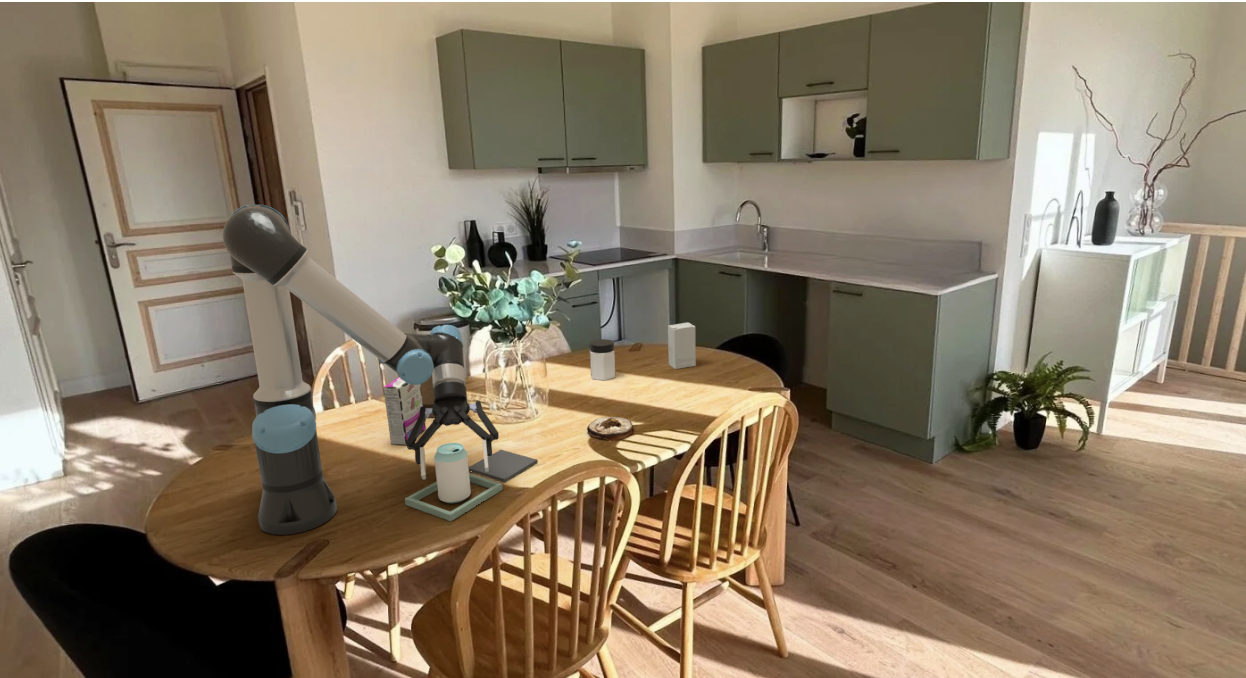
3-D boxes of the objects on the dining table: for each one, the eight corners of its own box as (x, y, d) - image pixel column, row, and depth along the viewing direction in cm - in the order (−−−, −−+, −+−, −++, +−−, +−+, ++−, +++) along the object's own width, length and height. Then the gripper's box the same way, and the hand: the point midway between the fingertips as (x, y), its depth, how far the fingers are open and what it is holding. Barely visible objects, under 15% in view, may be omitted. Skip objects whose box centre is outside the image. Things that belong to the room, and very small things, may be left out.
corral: (450, 521, 144) (450, 515, 144) (405, 504, 152) (404, 498, 151) (502, 489, 157) (502, 483, 157) (458, 475, 165) (457, 470, 164)
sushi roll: (571, 437, 186) (571, 422, 185) (602, 418, 198) (602, 405, 197) (618, 448, 178) (617, 433, 177) (647, 428, 191) (647, 414, 190)
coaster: (504, 482, 161) (504, 479, 161) (467, 470, 167) (467, 467, 167) (537, 462, 171) (537, 459, 170) (501, 452, 177) (500, 449, 177)
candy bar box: (410, 428, 194) (403, 372, 189) (426, 429, 193) (420, 373, 188) (389, 444, 183) (382, 386, 179) (406, 446, 182) (399, 387, 178)
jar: (606, 370, 239) (605, 337, 236) (620, 376, 233) (619, 342, 230) (585, 376, 234) (583, 342, 231) (599, 382, 228) (597, 347, 225)
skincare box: (688, 362, 247) (688, 321, 243) (696, 366, 242) (696, 325, 238) (667, 365, 244) (667, 324, 240) (674, 369, 239) (674, 328, 235)
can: (471, 488, 158) (467, 439, 155) (470, 503, 152) (465, 453, 148) (440, 491, 157) (435, 442, 154) (437, 506, 151) (432, 456, 147)
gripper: (503, 388, 168) (512, 471, 158) (396, 399, 163) (398, 486, 153) (503, 374, 162) (512, 460, 152) (391, 385, 156) (394, 475, 146)
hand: (455, 473), depth 152 cm, fingers open, 13 cm apart
